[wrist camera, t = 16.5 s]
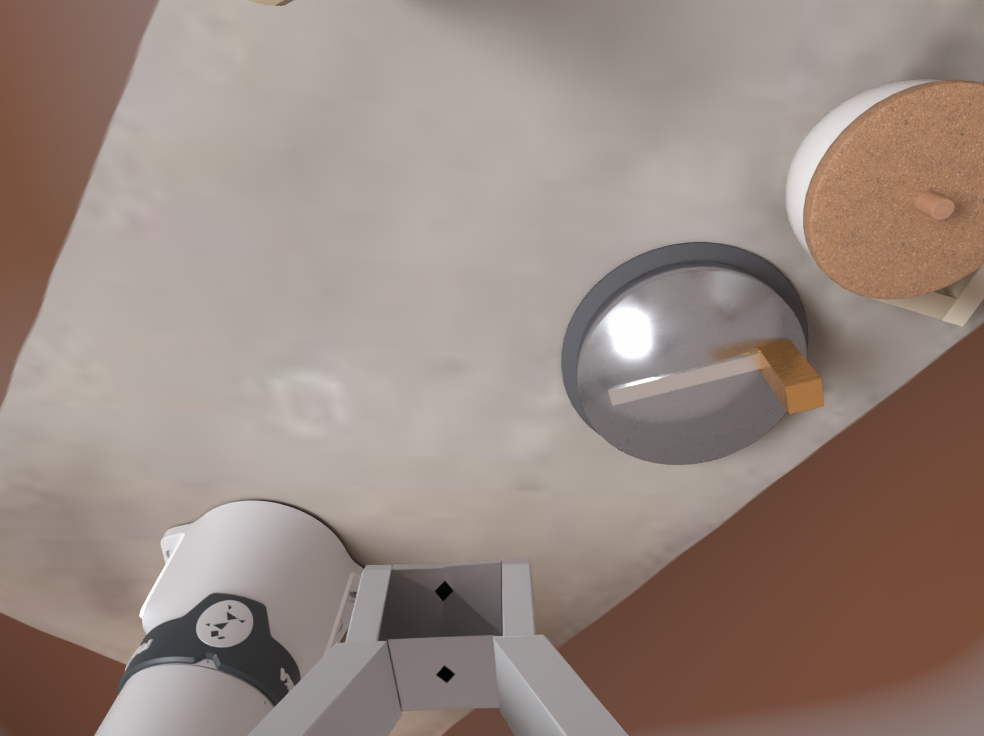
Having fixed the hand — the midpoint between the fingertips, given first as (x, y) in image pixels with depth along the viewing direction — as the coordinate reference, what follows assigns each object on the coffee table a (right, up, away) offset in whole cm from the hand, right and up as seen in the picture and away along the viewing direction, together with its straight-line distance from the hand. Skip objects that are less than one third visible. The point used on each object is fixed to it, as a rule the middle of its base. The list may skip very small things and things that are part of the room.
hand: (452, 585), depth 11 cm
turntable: (+14, +5, +33) cm, 36 cm away
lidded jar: (+22, +16, +26) cm, 38 cm away
